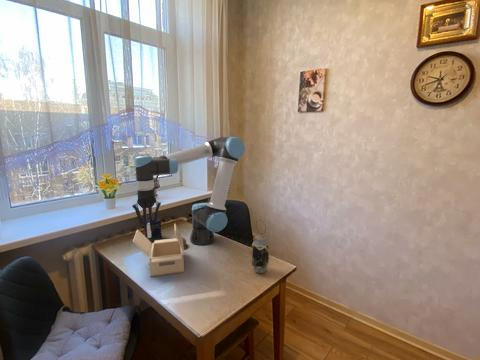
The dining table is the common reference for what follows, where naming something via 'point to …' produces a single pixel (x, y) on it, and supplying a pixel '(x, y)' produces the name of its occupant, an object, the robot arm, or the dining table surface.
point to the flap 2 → (179, 237)
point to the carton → (166, 257)
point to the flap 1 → (142, 242)
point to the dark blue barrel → (155, 231)
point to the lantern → (260, 253)
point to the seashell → (184, 243)
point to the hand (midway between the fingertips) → (149, 236)
